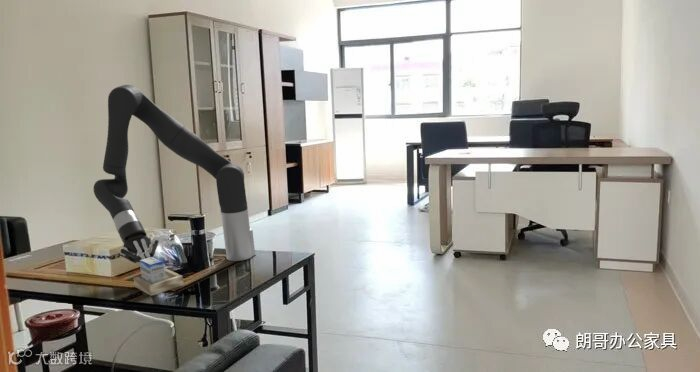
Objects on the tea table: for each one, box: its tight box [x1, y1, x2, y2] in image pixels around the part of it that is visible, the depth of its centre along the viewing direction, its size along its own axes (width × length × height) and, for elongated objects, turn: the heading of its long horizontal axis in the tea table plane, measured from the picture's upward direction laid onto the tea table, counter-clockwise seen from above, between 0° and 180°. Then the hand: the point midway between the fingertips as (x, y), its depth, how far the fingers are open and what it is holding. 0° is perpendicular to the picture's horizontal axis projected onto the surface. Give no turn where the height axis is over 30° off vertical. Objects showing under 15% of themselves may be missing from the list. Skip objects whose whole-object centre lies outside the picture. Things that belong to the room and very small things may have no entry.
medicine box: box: [139, 257, 166, 284], centre depth 164 cm, size 8×4×9 cm, turn 45°
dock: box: [133, 267, 184, 297], centre depth 165 cm, size 10×12×3 cm
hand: (150, 269), depth 168 cm, fingers closed
